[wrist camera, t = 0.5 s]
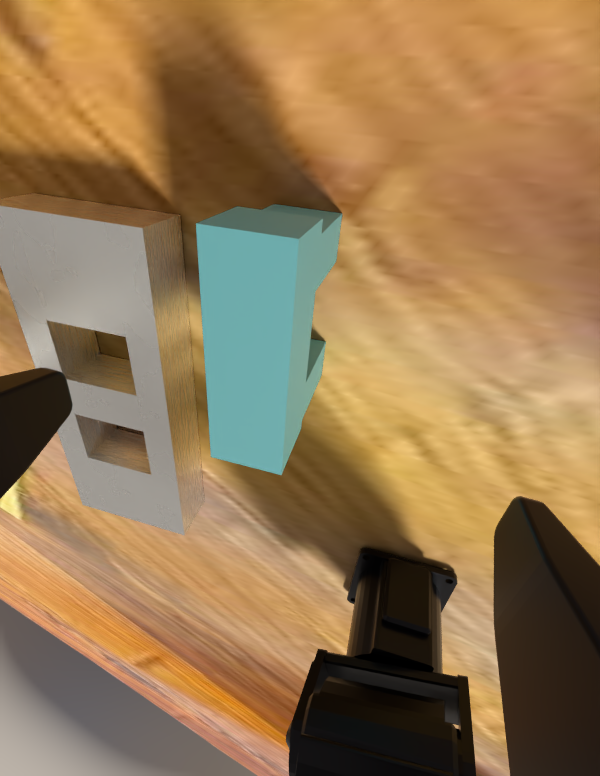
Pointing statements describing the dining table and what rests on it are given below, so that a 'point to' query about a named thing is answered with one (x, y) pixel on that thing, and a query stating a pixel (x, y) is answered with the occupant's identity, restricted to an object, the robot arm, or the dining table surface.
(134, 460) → the rail
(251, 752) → the dining table surface
